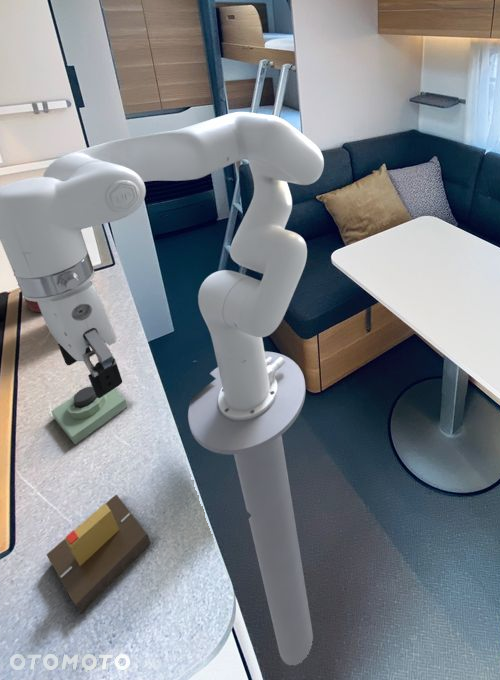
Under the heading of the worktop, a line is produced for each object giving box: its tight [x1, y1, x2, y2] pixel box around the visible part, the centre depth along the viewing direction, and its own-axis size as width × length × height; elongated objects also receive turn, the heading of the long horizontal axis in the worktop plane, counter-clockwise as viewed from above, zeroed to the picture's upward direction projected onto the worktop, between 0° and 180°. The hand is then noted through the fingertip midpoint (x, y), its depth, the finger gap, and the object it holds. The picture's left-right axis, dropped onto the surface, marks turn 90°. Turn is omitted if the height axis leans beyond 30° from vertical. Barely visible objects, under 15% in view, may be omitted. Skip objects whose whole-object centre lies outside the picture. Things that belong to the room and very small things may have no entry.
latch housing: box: [50, 384, 128, 445], centre depth 85 cm, size 10×10×4 cm
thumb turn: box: [64, 503, 119, 566], centre depth 61 cm, size 6×2×5 cm, turn 145°
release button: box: [73, 386, 97, 408], centre depth 84 cm, size 4×4×2 cm
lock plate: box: [46, 494, 152, 615], centre depth 63 cm, size 10×10×3 cm
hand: (93, 373), depth 59 cm, fingers open, 9 cm apart
